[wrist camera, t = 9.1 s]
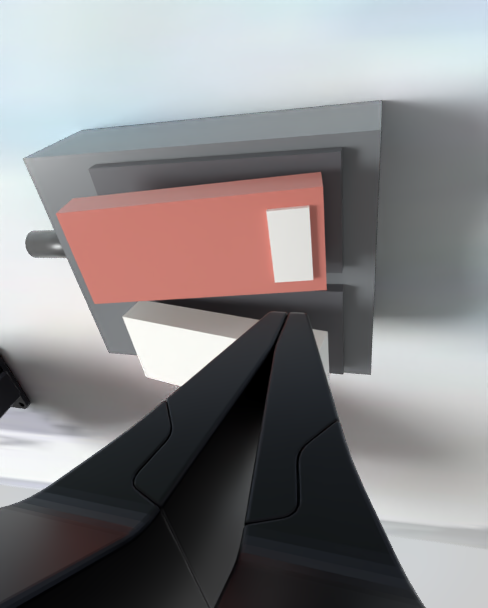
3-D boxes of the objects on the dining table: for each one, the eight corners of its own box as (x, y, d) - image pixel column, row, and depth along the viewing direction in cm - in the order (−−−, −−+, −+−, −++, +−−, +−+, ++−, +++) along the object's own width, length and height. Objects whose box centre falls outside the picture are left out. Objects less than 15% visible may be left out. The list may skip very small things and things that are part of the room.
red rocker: (107, 285, 16) (92, 306, 15) (72, 198, 14) (53, 215, 13) (324, 270, 14) (327, 292, 13) (321, 171, 12) (323, 188, 11)
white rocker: (160, 359, 19) (144, 379, 18) (140, 299, 17) (119, 318, 16) (330, 399, 16) (320, 427, 15) (327, 331, 14) (315, 358, 13)
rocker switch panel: (85, 304, 26) (40, 353, 22) (11, 137, 20) (-66, 169, 17) (372, 317, 21) (370, 383, 17) (382, 100, 15) (381, 134, 12)
